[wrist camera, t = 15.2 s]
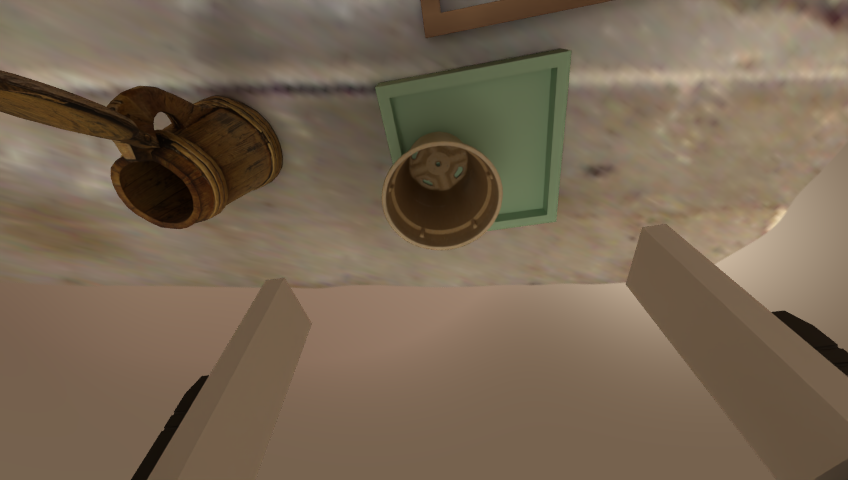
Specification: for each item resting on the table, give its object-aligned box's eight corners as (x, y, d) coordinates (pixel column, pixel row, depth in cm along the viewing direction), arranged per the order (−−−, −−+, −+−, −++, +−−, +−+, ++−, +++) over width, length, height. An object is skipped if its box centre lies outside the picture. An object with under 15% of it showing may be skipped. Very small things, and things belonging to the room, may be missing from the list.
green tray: (378, 83, 28) (374, 87, 26) (560, 48, 26) (571, 50, 24) (411, 229, 37) (411, 241, 35) (548, 210, 35) (556, 221, 33)
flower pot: (478, 205, 34) (493, 251, 27) (393, 204, 34) (384, 250, 26) (490, 115, 28) (513, 142, 21) (389, 112, 28) (377, 139, 21)
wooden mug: (267, 48, 26) (64, 74, 12) (287, 190, 34) (181, 316, 19) (158, 32, 26) (-201, 40, 11) (204, 181, 33) (29, 303, 19)
